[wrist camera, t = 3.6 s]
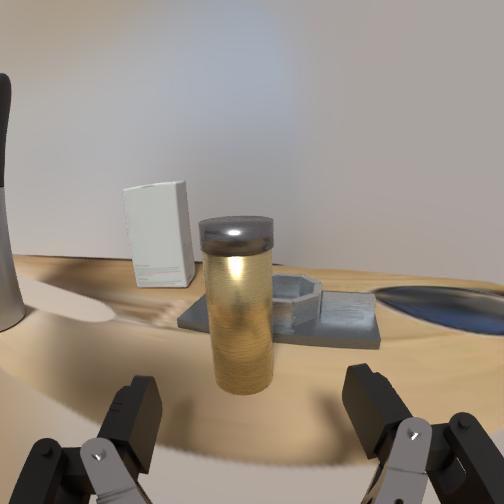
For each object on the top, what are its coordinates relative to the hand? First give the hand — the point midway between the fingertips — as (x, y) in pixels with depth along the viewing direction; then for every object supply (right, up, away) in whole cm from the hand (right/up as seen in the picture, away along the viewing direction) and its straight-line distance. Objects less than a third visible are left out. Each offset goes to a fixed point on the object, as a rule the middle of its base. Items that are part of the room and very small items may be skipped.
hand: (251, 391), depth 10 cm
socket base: (+3, -1, +20) cm, 20 cm away
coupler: (-1, -4, +10) cm, 11 cm away
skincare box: (-13, +1, +31) cm, 34 cm away
